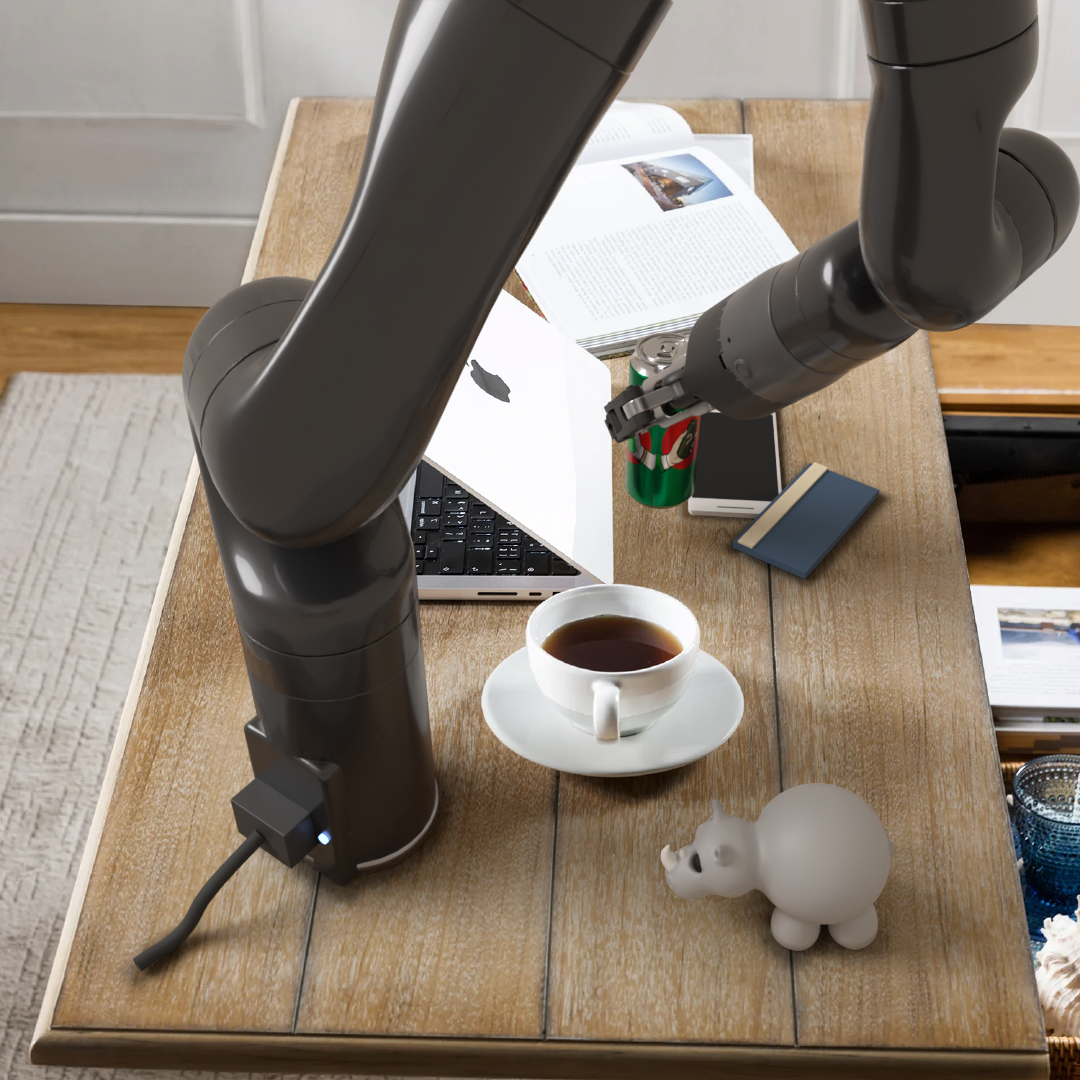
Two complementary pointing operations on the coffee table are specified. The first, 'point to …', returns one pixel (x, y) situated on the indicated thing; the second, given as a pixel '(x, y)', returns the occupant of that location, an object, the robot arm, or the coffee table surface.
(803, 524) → the notebook
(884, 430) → the coffee table surface
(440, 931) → the coffee table surface
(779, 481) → the smartphone
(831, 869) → the toy rhinoceros
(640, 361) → the soda can
